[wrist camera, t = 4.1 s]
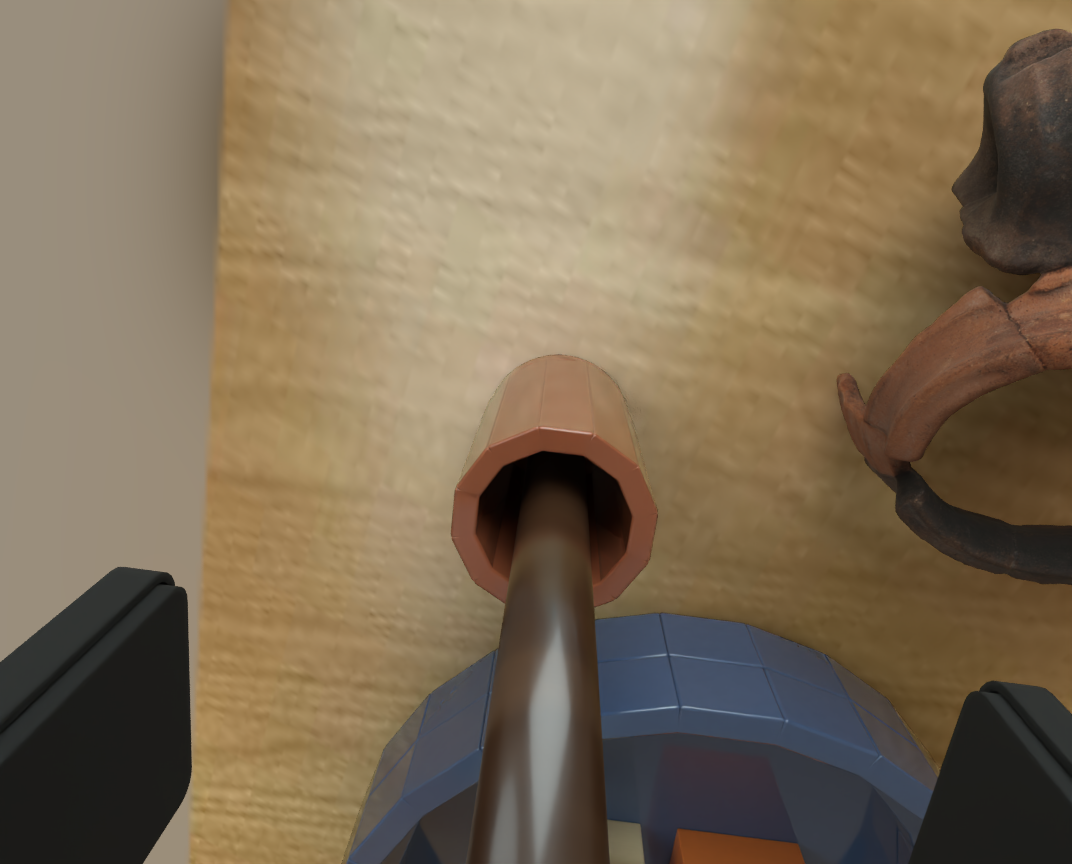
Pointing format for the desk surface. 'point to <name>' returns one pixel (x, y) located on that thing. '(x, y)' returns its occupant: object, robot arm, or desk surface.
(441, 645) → the desk surface
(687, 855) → the orange block
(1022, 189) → the pottery mug
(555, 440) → the holder
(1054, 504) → the desk surface
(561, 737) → the stick
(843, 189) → the desk surface
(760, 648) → the bowl
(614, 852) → the pale block
